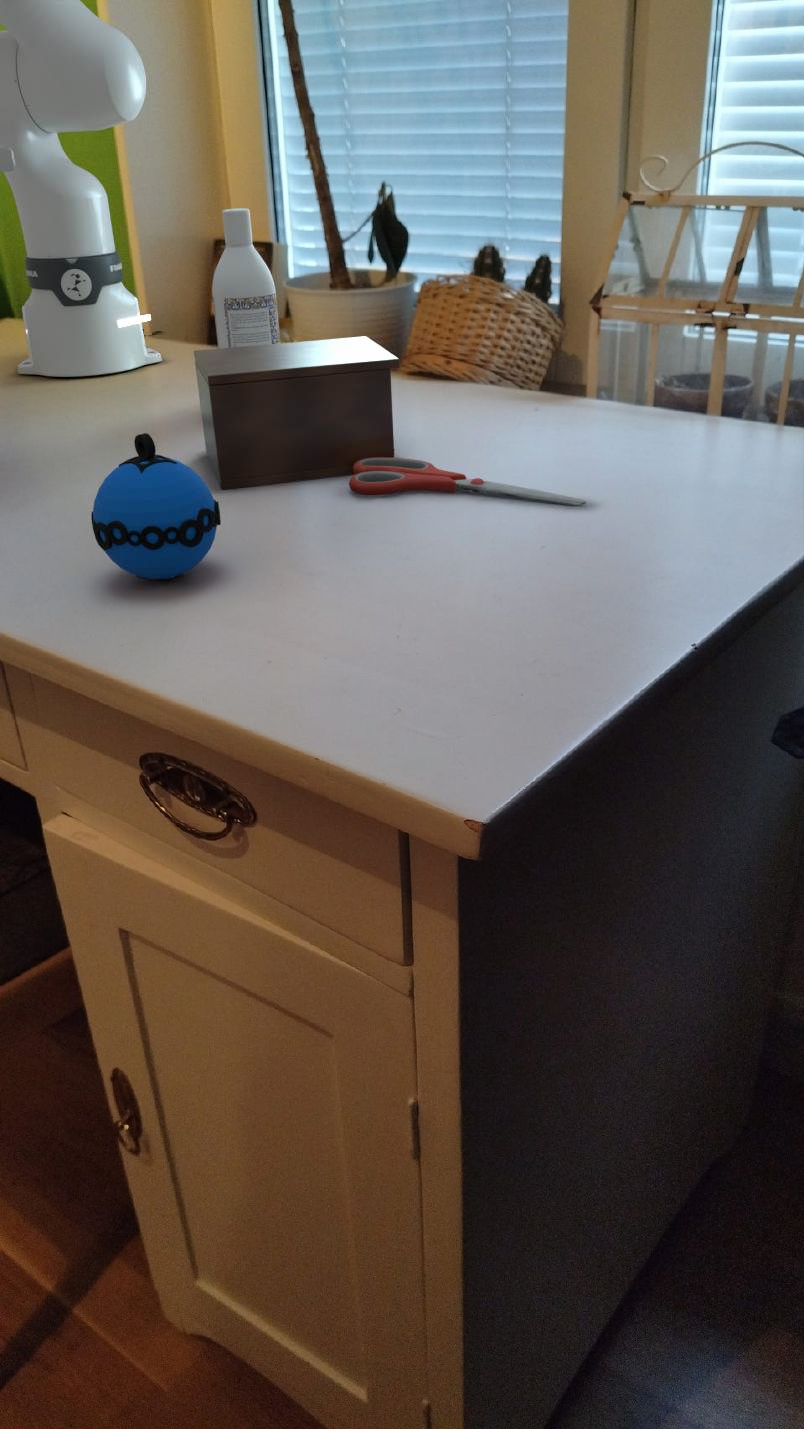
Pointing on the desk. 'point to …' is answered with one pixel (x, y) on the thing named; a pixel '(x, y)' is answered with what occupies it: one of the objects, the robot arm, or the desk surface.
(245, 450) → the chest
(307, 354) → the lid
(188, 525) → the ornament
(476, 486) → the scissors
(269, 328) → the bath foam
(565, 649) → the desk surface
